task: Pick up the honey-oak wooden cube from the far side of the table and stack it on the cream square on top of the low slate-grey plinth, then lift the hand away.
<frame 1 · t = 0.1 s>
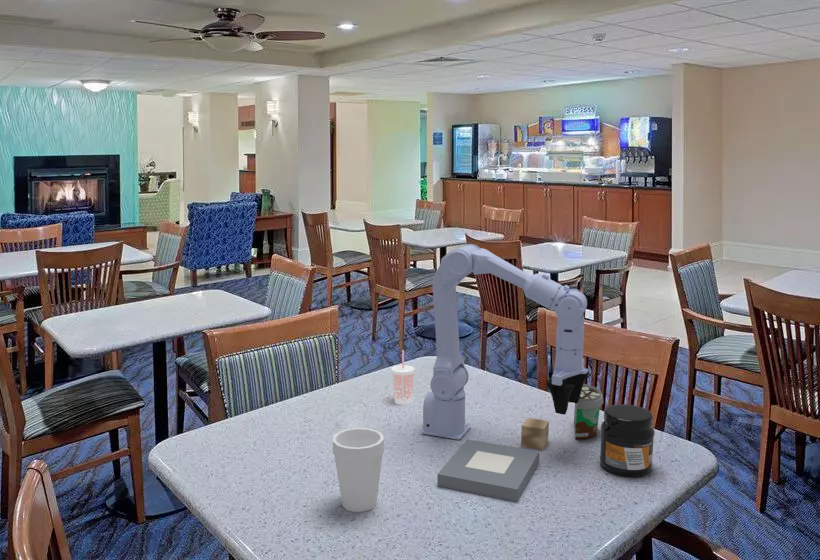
hand: (566, 407, 150), 10 cm above the table, tool pointing down, fingers open, 7 cm apart
supplement container: (625, 467, 144), on the table
foam cup: (359, 504, 129), on the table
plinth: (490, 473, 141), on the table
food container: (588, 433, 161), on the table
beverage cup: (403, 402, 181), on the table
oak cube: (534, 444, 155), on the table
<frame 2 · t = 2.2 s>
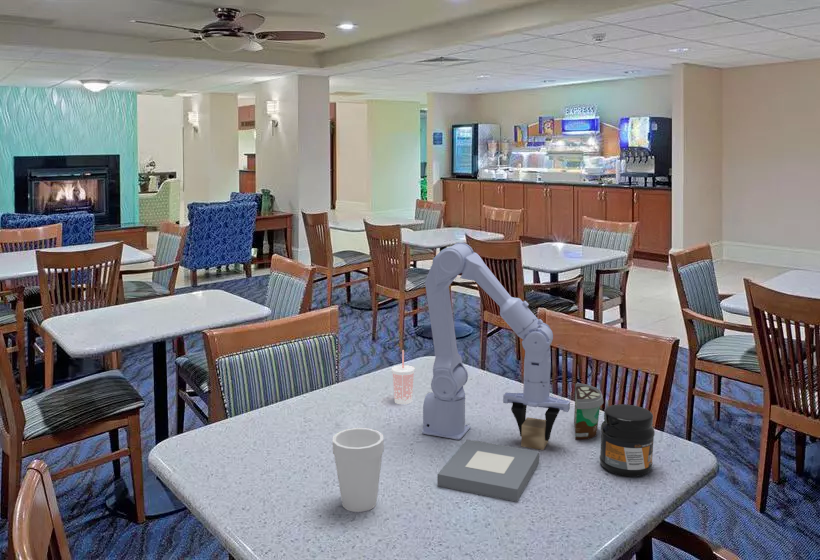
hand: (535, 437, 155), 2 cm above the table, tool pointing down, fingers closed on oak cube, 5 cm apart
oak cube: (534, 443, 155), on the table, touching gripper
everything else where it was.
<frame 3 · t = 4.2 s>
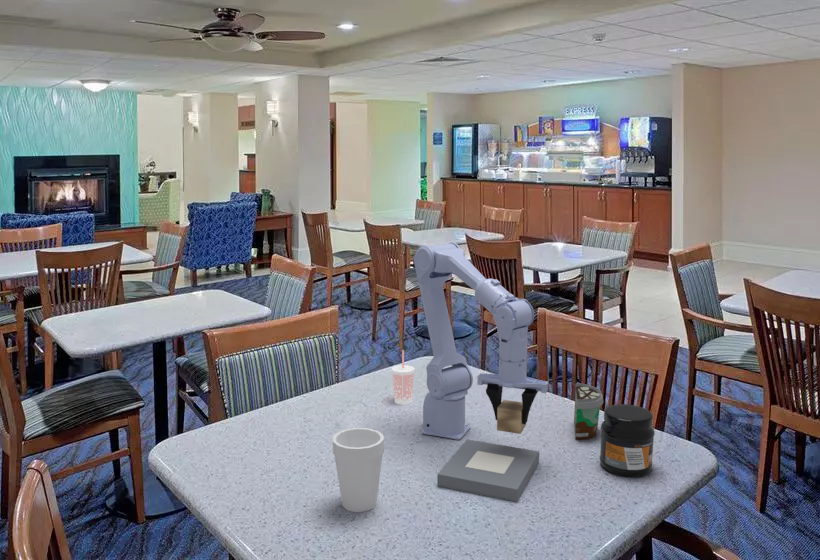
hand: (511, 420, 145), 9 cm above the table, tool pointing down, fingers closed on oak cube, 5 cm apart
oak cube: (511, 427, 146), point 7 cm above the table, touching gripper
everything else where it was.
when the fingers open (5 cm above the table, at t = 6.3 s): oak cube stays where it is, resting on plinth.
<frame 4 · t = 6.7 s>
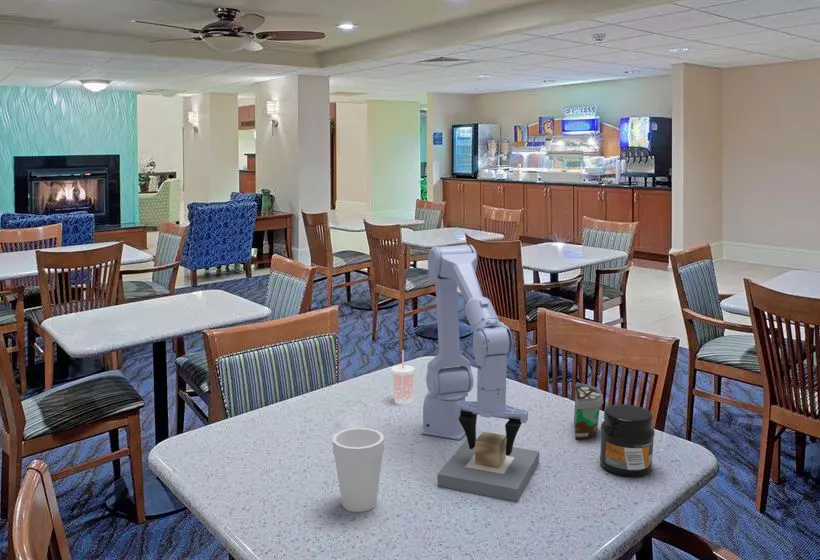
hand: (490, 450, 140), 5 cm above the table, tool pointing down, fingers open, 7 cm apart
oak cube: (490, 461, 140), point 3 cm above the table, touching plinth
everything else where it was.
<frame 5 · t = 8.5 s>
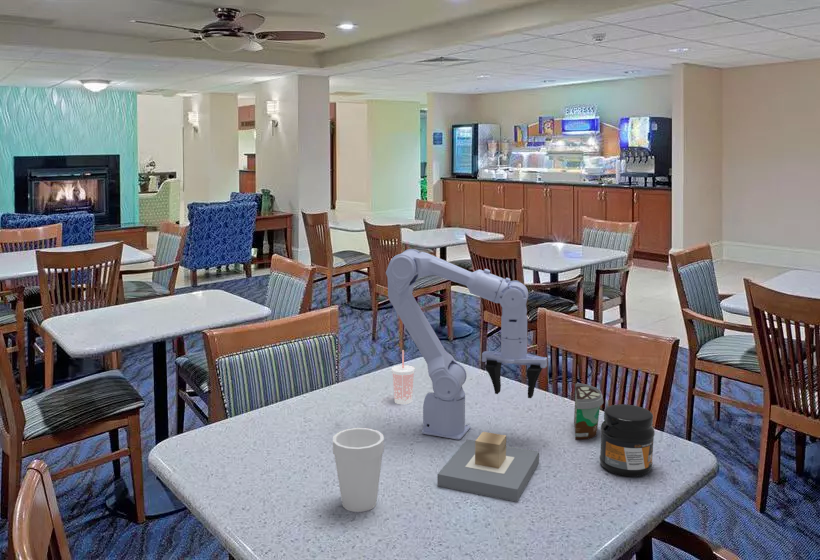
hand: (513, 394, 156), 10 cm above the table, tool pointing down, fingers open, 7 cm apart
nothing on the table moved.
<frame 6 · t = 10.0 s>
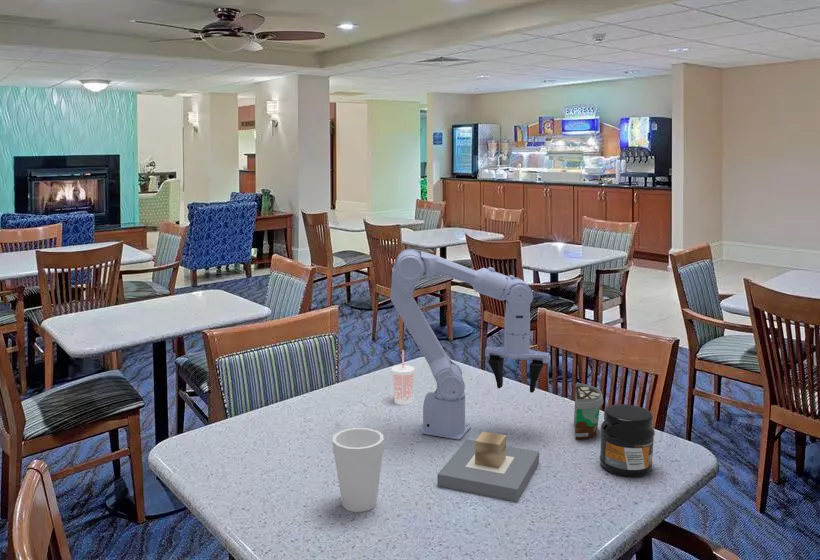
hand: (516, 389, 160), 10 cm above the table, tool pointing down, fingers open, 7 cm apart
nothing on the table moved.
at the end: oak cube inside the target area on the plinth (0.3 cm from its centre), point 2.6 cm above the plinth's base; oak cube tilted 0°; the gripper is holding nothing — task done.
